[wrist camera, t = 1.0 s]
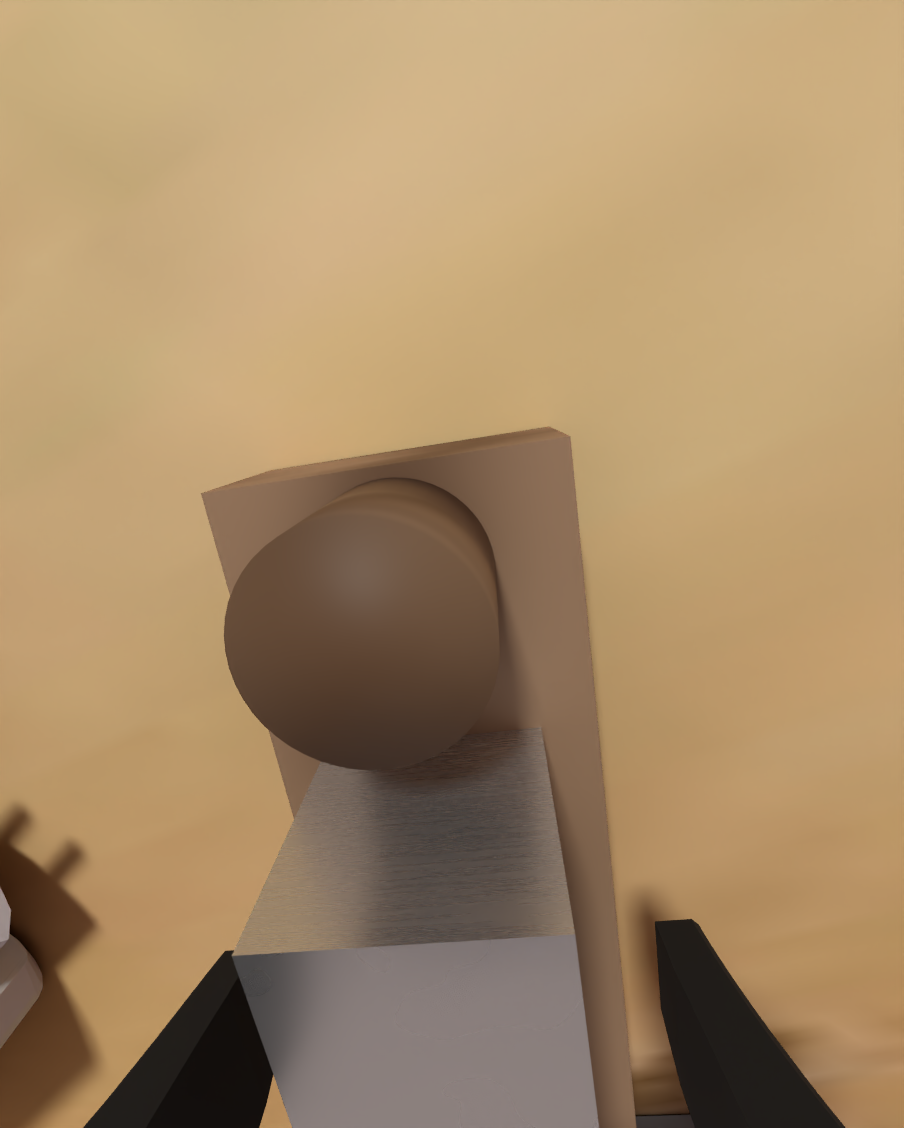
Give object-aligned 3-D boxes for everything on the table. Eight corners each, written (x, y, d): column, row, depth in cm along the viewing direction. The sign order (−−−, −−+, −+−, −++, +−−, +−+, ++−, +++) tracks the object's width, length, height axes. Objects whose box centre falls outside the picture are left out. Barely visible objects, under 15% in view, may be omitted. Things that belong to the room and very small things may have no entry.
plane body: (548, 426, 11) (612, 455, 6) (614, 1047, 16) (684, 1403, 10) (270, 470, 12) (68, 537, 6) (415, 1056, 17) (378, 1396, 11)
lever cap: (541, 727, 10) (575, 934, 6) (581, 1043, 12) (625, 1341, 8) (326, 749, 10) (232, 955, 6) (403, 1051, 12) (366, 1338, 9)
